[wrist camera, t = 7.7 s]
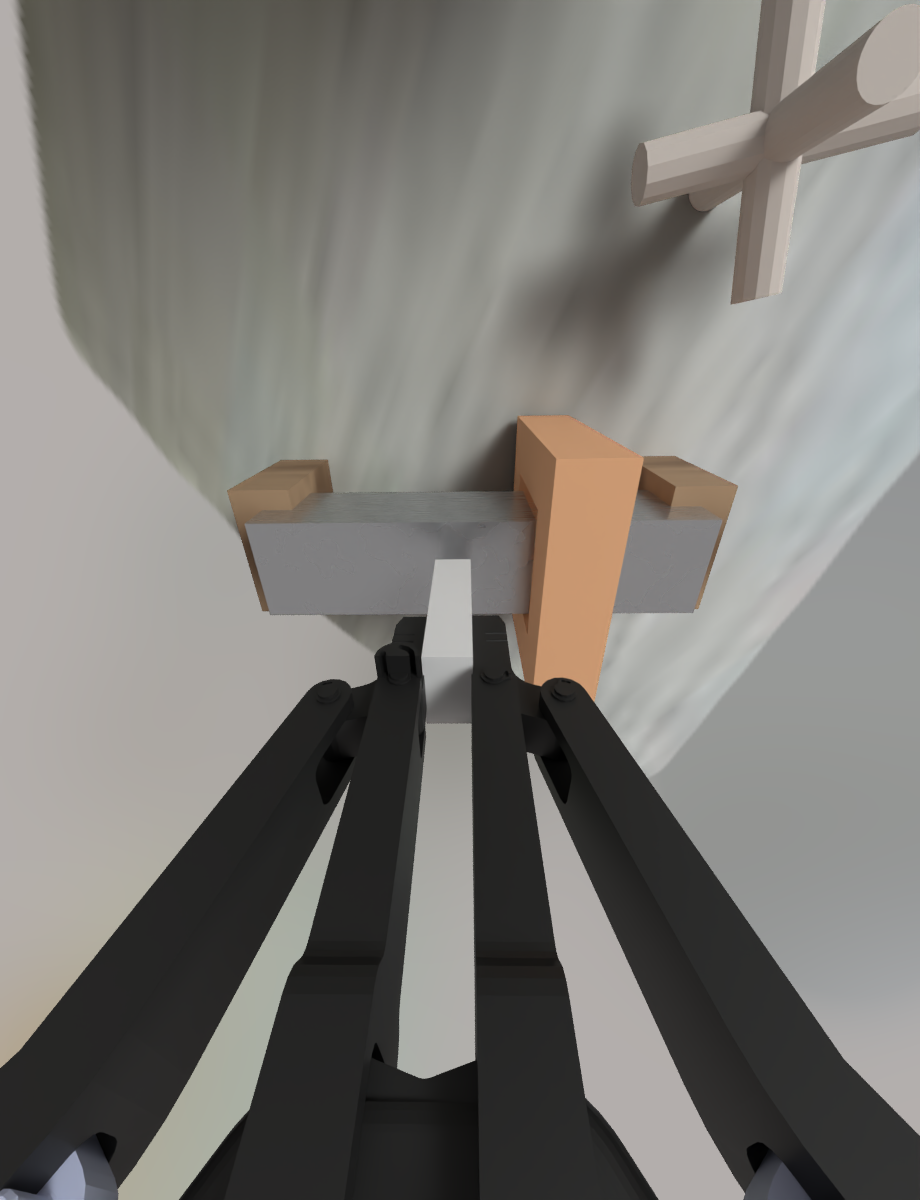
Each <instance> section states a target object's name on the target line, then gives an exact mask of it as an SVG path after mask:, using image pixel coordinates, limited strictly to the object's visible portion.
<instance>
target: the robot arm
mask: <svg viewBox="0 0 920 1200" xmlns="http://www.w3.org/2000/svg"><path fill="white" fill-rule="evenodd" d="M374 657H375V663H376V670H377V676H378V678H377V680H375V681H374V682H372V683H370V684H367V685H364V686H360V687H356V688H351V687H350V686H349V684H348V683H346V682H345V681H342V680H335V679H330V680H327V681H322V682H320V683H318V684H316V685H314V686H313V687H312V688H311V689H310V690H308V692H307V693H306V694H305V695H304V697H303V698H302V699H301V700H300V702H299V703H298V704H297V705H296V707H295V708H294V709H293V710H292V712H291V713H290V714H289V715H288V717H287V718H286V719H285V720H284V722H283V723H282V724H281V725H280V727H279V728H278V729H277V730H276V731H275V733H274V734H273V735H272V736H271V738H270V739H269V740H268V742H267V743H266V744H265V745H264V746H263V748H262V749H261V750H260V751H259V753H258V754H257V755H256V757H255V758H254V759H253V760H252V761H251V763H250V764H249V765H248V766H247V768H246V769H245V770H244V771H243V773H242V774H241V775H240V776H239V778H238V779H237V780H236V781H235V783H234V784H233V785H232V786H231V788H230V789H229V790H228V791H227V793H226V794H225V795H224V796H223V798H222V799H221V800H220V801H219V803H218V804H217V805H216V807H215V808H214V809H213V810H212V811H211V813H210V814H209V815H208V817H207V818H206V819H205V820H204V821H203V823H202V824H201V825H200V826H199V828H198V829H197V830H196V831H195V833H194V834H193V835H192V837H191V838H190V839H189V840H188V841H187V843H186V844H185V845H184V846H183V848H182V849H181V850H180V851H179V853H178V854H177V855H176V856H175V858H174V859H173V860H172V861H171V862H170V864H169V865H168V866H167V867H166V869H165V870H164V871H163V872H162V874H161V875H160V876H159V878H158V879H157V880H156V881H155V883H154V884H153V885H152V886H151V888H150V889H149V890H148V891H147V892H146V894H145V895H144V896H143V898H142V899H141V900H140V901H139V903H138V904H137V905H136V906H135V908H134V909H133V910H132V911H131V912H130V914H129V915H128V916H127V917H126V919H125V920H124V921H123V922H122V924H121V925H120V926H119V927H118V929H117V930H116V931H115V932H114V934H113V935H112V936H111V937H110V939H109V940H108V941H107V942H106V944H105V945H104V946H103V947H102V949H101V950H100V951H99V952H98V954H97V955H96V956H95V958H94V959H93V960H92V961H91V962H90V964H89V965H88V966H87V967H86V969H85V970H84V971H83V972H82V974H81V975H80V976H79V977H78V979H77V980H76V981H75V982H74V984H73V985H72V986H71V987H70V989H69V990H68V991H67V992H66V993H65V995H64V996H63V997H62V999H61V1000H60V1001H59V1002H58V1003H57V1005H56V1006H55V1007H54V1008H53V1010H52V1011H51V1012H50V1013H49V1015H48V1016H47V1017H46V1019H45V1020H44V1021H43V1022H42V1024H41V1025H40V1026H39V1027H38V1028H37V1030H36V1031H35V1032H34V1033H33V1035H32V1036H31V1037H30V1038H29V1040H28V1041H27V1042H26V1043H25V1045H24V1046H23V1047H22V1049H21V1050H20V1051H19V1052H18V1053H16V1054H15V1055H14V1056H13V1057H12V1058H11V1059H10V1060H9V1061H8V1062H7V1063H6V1064H5V1065H3V1066H2V1067H1V1068H0V1200H118V1190H117V1189H118V1188H119V1187H120V1185H121V1184H122V1183H123V1181H124V1180H125V1179H126V1177H127V1176H128V1175H129V1173H130V1172H131V1171H132V1169H133V1168H134V1167H135V1165H136V1164H137V1162H138V1160H139V1159H140V1158H141V1156H142V1154H143V1153H144V1152H145V1150H146V1149H147V1147H148V1145H149V1144H150V1142H151V1141H152V1139H153V1138H154V1136H155V1135H156V1133H157V1132H158V1131H159V1129H160V1127H161V1126H162V1124H163V1123H164V1121H165V1120H166V1118H167V1116H168V1115H169V1113H170V1111H171V1109H172V1108H173V1106H174V1104H175V1103H176V1101H177V1099H178V1097H179V1096H180V1094H181V1092H182V1091H183V1089H184V1087H185V1085H186V1084H187V1082H188V1080H189V1079H190V1077H191V1075H192V1073H193V1071H194V1069H195V1067H196V1065H197V1063H198V1062H199V1060H200V1058H201V1056H202V1054H203V1052H204V1051H205V1049H206V1047H207V1045H208V1043H209V1041H210V1039H211V1038H212V1036H213V1034H214V1032H215V1030H216V1028H217V1027H218V1025H219V1023H220V1021H221V1019H222V1017H223V1015H224V1013H225V1012H226V1010H227V1008H228V1006H229V1004H230V1002H231V1001H232V999H233V997H234V995H235V993H236V991H237V989H238V988H239V986H240V984H241V982H242V980H243V978H244V976H245V975H246V973H247V971H248V969H249V967H250V965H251V963H252V962H253V960H254V958H255V956H256V954H257V952H258V951H259V949H260V947H261V945H262V943H263V941H264V939H265V938H266V936H267V934H268V932H269V930H270V928H271V926H272V925H273V922H274V921H275V919H276V917H277V915H278V913H279V911H280V909H281V908H282V906H283V904H284V902H285V900H286V898H287V897H288V895H289V893H290V891H291V889H292V887H293V886H294V884H295V882H296V880H297V878H298V876H299V874H300V873H301V871H302V869H303V867H304V865H305V863H306V861H307V859H308V857H309V856H310V854H311V852H312V850H313V848H314V847H315V845H316V843H317V841H318V839H319V837H320V835H321V834H322V832H323V830H324V828H325V826H326V824H327V822H328V821H329V819H330V817H331V815H332V813H333V811H334V809H335V807H336V806H337V804H338V802H339V800H340V798H341V796H342V795H343V793H344V791H345V789H346V787H347V785H348V783H349V782H350V784H349V788H348V792H347V796H346V800H345V803H344V807H343V811H342V815H341V818H340V822H339V826H338V830H337V834H336V837H335V841H334V845H333V849H332V853H331V856H330V860H329V864H328V868H327V871H326V875H325V879H324V883H323V887H322V891H321V895H320V898H319V902H318V906H317V909H316V913H315V917H314V921H313V925H312V929H311V933H310V936H309V940H308V943H307V946H306V949H305V952H304V954H303V956H302V957H301V958H300V959H299V960H298V961H297V962H296V963H295V964H294V966H293V968H292V970H291V972H290V974H289V976H288V978H287V981H286V985H285V987H284V990H283V993H282V996H281V1000H280V1003H279V1007H278V1011H277V1014H276V1018H275V1021H274V1025H273V1028H272V1032H271V1035H270V1039H269V1042H268V1046H267V1050H266V1054H265V1057H264V1060H263V1064H262V1067H261V1071H260V1074H259V1078H258V1082H257V1085H256V1089H255V1092H254V1096H253V1099H252V1103H251V1106H250V1110H249V1111H248V1112H247V1113H246V1114H245V1115H244V1116H243V1118H242V1119H241V1120H240V1121H239V1122H238V1123H237V1124H236V1125H235V1126H234V1128H233V1129H232V1130H231V1131H230V1133H229V1134H228V1135H227V1137H226V1138H225V1139H224V1141H223V1142H222V1143H221V1145H220V1146H219V1147H218V1149H217V1150H216V1151H215V1153H214V1154H213V1155H212V1156H211V1158H210V1159H209V1161H208V1162H207V1163H206V1164H205V1166H204V1167H203V1168H202V1170H201V1171H200V1172H199V1174H198V1175H197V1177H196V1178H195V1179H194V1181H193V1182H192V1183H191V1184H190V1186H189V1187H188V1189H187V1190H186V1191H185V1192H184V1194H183V1195H182V1196H181V1198H180V1199H179V1200H658V1198H657V1197H656V1195H655V1193H654V1192H653V1190H652V1189H651V1187H650V1186H649V1184H648V1182H647V1181H646V1179H645V1178H644V1176H643V1175H642V1173H641V1172H640V1170H639V1169H638V1167H637V1165H636V1164H635V1162H634V1161H633V1159H632V1157H631V1156H630V1154H629V1153H628V1151H627V1150H626V1148H625V1146H624V1145H623V1143H622V1142H621V1140H620V1139H619V1138H618V1136H617V1135H616V1133H615V1131H614V1130H613V1129H612V1128H611V1126H610V1125H609V1124H608V1123H607V1121H606V1120H605V1119H604V1118H603V1116H602V1115H601V1114H600V1113H599V1111H598V1110H597V1109H596V1108H595V1107H593V1105H592V1104H591V1103H590V1102H589V1101H588V1100H587V1099H586V1098H585V1094H584V1088H583V1081H582V1075H581V1069H580V1062H579V1056H578V1050H577V1044H576V1037H575V1031H574V1024H573V1018H572V1012H571V1005H570V999H569V993H568V988H567V982H566V978H565V974H564V970H563V967H562V965H561V963H560V961H559V959H558V956H557V952H556V948H555V941H554V934H553V927H552V921H551V914H550V907H549V900H548V894H547V887H546V880H545V873H544V867H543V860H542V853H541V846H540V840H539V834H538V826H537V820H536V813H535V806H534V799H533V792H532V786H531V779H530V772H529V766H528V759H527V752H529V753H533V754H534V756H535V759H536V761H537V764H538V766H539V768H540V771H541V773H542V775H543V777H544V779H545V781H546V784H547V786H548V788H549V790H550V792H551V794H552V797H553V799H554V801H555V803H556V806H557V807H558V810H559V812H560V814H561V816H562V819H563V821H564V823H565V825H566V827H567V830H568V832H569V834H570V836H571V838H572V840H573V842H574V845H575V847H576V849H577V851H578V854H579V856H580V858H581V860H582V862H583V865H584V867H585V869H586V871H587V873H588V875H589V877H590V880H591V882H592V884H593V886H594V888H595V891H596V893H597V895H598V897H599V899H600V902H601V904H602V906H603V908H604V910H605V912H606V915H607V917H608V919H609V921H610V924H611V925H612V928H613V930H614V932H615V934H616V937H617V939H618V941H619V943H620V945H621V947H622V949H623V952H624V954H625V956H626V958H627V960H628V963H629V965H630V967H631V969H632V972H633V974H634V976H635V978H636V980H637V983H638V984H639V987H640V989H641V991H642V993H643V996H644V998H645V1000H646V1002H647V1004H648V1006H649V1009H650V1011H651V1013H652V1015H653V1018H654V1019H655V1022H656V1024H657V1026H658V1028H659V1031H660V1033H661V1035H662V1037H663V1039H664V1041H665V1044H666V1046H667V1048H668V1050H669V1052H670V1055H671V1057H672V1059H673V1061H674V1063H675V1065H676V1067H677V1069H678V1072H679V1074H680V1076H681V1079H682V1081H683V1083H684V1085H685V1087H686V1089H687V1091H688V1093H689V1095H690V1097H691V1099H692V1101H693V1103H694V1105H695V1107H696V1109H697V1111H698V1113H699V1115H700V1117H701V1119H702V1121H703V1123H704V1125H705V1127H706V1129H707V1131H708V1132H709V1134H710V1136H711V1138H712V1139H713V1141H714V1143H715V1145H716V1146H717V1148H718V1150H719V1151H720V1153H721V1155H722V1157H723V1158H724V1160H725V1162H726V1164H727V1165H728V1167H729V1169H730V1170H731V1172H732V1174H733V1176H734V1177H735V1179H736V1180H737V1181H738V1183H739V1184H740V1186H741V1187H742V1189H743V1191H744V1192H745V1196H744V1199H743V1200H920V1136H919V1135H918V1134H917V1133H916V1132H915V1131H914V1130H913V1129H912V1128H911V1127H910V1126H909V1125H908V1124H907V1123H906V1122H905V1121H904V1120H903V1119H902V1118H901V1117H900V1116H899V1115H898V1114H897V1113H896V1112H895V1111H894V1110H893V1108H891V1106H889V1104H887V1102H886V1101H885V1100H884V1099H883V1098H882V1097H881V1096H880V1095H879V1094H878V1093H876V1091H875V1090H874V1089H873V1088H872V1087H871V1086H870V1085H869V1084H868V1083H867V1082H866V1081H865V1080H864V1079H863V1078H862V1077H861V1076H860V1075H859V1074H858V1073H857V1072H856V1071H855V1070H854V1069H853V1068H852V1067H851V1066H850V1065H849V1064H848V1063H847V1062H846V1061H845V1060H844V1059H843V1057H842V1056H841V1054H840V1053H839V1052H838V1050H837V1049H836V1047H835V1046H834V1044H833V1043H832V1042H831V1040H830V1039H829V1037H828V1036H827V1035H826V1033H825V1032H824V1030H823V1029H822V1027H821V1026H820V1024H819V1023H818V1022H817V1020H816V1019H815V1017H814V1016H813V1014H812V1013H811V1012H810V1010H809V1009H808V1007H807V1006H806V1004H805V1003H804V1001H803V1000H802V999H801V997H800V996H799V994H798V993H797V991H796V990H795V989H794V987H793V986H792V984H791V983H790V981H789V980H788V979H787V977H786V976H785V974H784V973H783V971H782V970H781V969H780V967H779V966H778V964H777V963H776V961H775V960H774V959H773V957H772V956H771V954H770V953H769V952H768V950H767V949H766V947H765V946H764V944H763V943H762V942H761V940H760V939H759V937H758V936H757V935H756V933H755V932H754V930H753V929H752V927H751V926H750V924H749V923H748V921H747V920H746V919H745V917H744V916H743V914H742V913H741V911H740V910H739V909H738V907H737V906H736V904H735V903H734V901H733V900H732V899H731V897H730V896H729V894H728V893H727V891H726V890H725V889H724V887H723V886H722V884H721V883H720V881H719V880H718V879H717V877H716V876H715V875H714V873H713V871H712V870H711V869H710V867H709V866H708V864H707V863H706V861H705V860H704V859H703V857H702V856H701V854H700V853H699V851H698V850H697V849H696V847H695V846H694V844H693V843H692V841H691V840H690V839H689V837H688V836H687V835H686V833H685V831H684V830H683V828H682V827H681V826H680V824H679V823H678V821H677V820H676V818H675V817H674V816H673V814H672V813H671V811H670V810H669V809H668V807H667V806H666V804H665V803H664V802H663V800H662V799H661V797H660V796H659V794H658V793H657V792H656V790H655V788H654V787H653V786H652V784H651V783H650V782H649V780H648V778H647V777H646V776H645V774H644V773H643V771H642V770H641V768H640V767H639V766H638V764H637V763H636V761H635V760H634V758H633V757H632V756H631V754H630V753H629V751H628V750H627V748H626V747H625V746H624V744H623V743H622V741H621V740H620V738H619V737H618V736H617V734H616V733H615V731H614V730H613V728H612V727H611V726H610V724H609V723H608V721H607V720H606V718H605V717H604V716H603V714H602V713H601V711H600V710H599V708H598V707H597V706H596V704H595V703H594V701H593V700H592V698H591V697H590V696H589V694H588V693H587V691H586V690H585V689H584V688H583V687H582V686H581V685H580V684H579V683H577V682H575V681H574V680H572V679H567V678H563V677H562V678H552V679H549V680H547V681H546V682H545V683H543V684H542V686H538V685H534V684H530V683H527V682H525V681H523V680H521V679H519V678H518V677H517V676H516V675H515V674H514V672H513V671H512V668H511V662H510V655H509V648H508V641H507V634H506V627H505V623H504V622H503V621H502V619H501V618H500V617H499V616H472V600H471V559H440V560H435V565H434V572H433V579H432V586H431V593H430V600H429V607H428V614H427V617H403V619H402V620H401V621H400V622H399V623H398V624H397V625H396V628H395V632H394V636H393V640H392V643H391V644H388V645H386V646H383V647H382V648H381V649H379V650H378V651H377V653H376V654H375V656H374ZM426 721H427V723H472V798H473V799H472V803H473V877H474V878H473V881H474V884H473V885H474V955H475V956H474V958H475V959H474V962H475V965H474V966H475V1058H476V1059H475V1061H473V1062H470V1063H468V1064H465V1065H463V1066H460V1067H457V1068H455V1069H452V1070H449V1071H447V1072H444V1073H441V1074H439V1075H436V1076H434V1077H431V1078H428V1079H421V1078H418V1077H415V1076H413V1075H410V1074H408V1073H406V1072H403V1071H401V1070H399V1069H397V1060H398V1047H399V1046H398V1045H399V1007H400V995H401V985H402V975H403V965H404V955H405V944H406V935H407V924H408V913H409V904H410V894H411V884H412V873H413V863H414V853H415V843H416V833H417V823H418V812H419V802H420V792H421V782H422V772H423V762H424V752H425V741H426V731H425V722H426Z"/></svg>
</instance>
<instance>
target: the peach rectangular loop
mask: <svg viewBox="0 0 920 1200" xmlns="http://www.w3.org/2000/svg"><path fill="white" fill-rule="evenodd" d="M643 461H644V458H643V457H642V456H640V455H638V454H636V453H634V452H633V451H631V450H629V449H627V448H626V447H624V446H622V445H620V444H618V443H617V442H615V441H613V440H611V439H610V438H608V437H606V436H604V435H602V434H601V433H599V432H597V431H595V430H594V429H592V428H590V427H588V426H586V425H585V424H583V423H581V422H579V421H578V420H576V419H574V418H572V417H570V416H569V415H559V416H518V420H517V438H516V457H515V476H514V491H523V492H524V495H525V497H526V499H527V501H528V502H534V503H535V505H536V507H537V509H538V516H537V527H536V539H535V551H534V563H533V574H532V586H531V598H530V602H529V614H512V615H513V621H514V626H515V631H516V637H517V642H518V647H519V653H520V658H521V663H522V669H523V674H524V679H525V682H527V683H530V684H534V685H538V686H542V684H543V683H545V682H546V681H547V680H549V679H552V678H562V677H563V678H567V679H572V680H574V681H575V682H577V683H579V684H580V685H581V686H582V687H583V688H584V689H585V690H586V691H587V693H588V694H589V696H590V697H591V698H592V700H593V701H595V696H596V691H597V686H598V681H599V676H600V671H601V666H602V662H603V657H604V652H605V647H606V642H607V637H608V632H609V627H610V622H611V617H612V613H613V608H614V603H615V598H616V593H617V588H618V583H619V578H620V573H621V568H622V564H623V559H624V554H625V549H626V544H627V539H628V534H629V529H630V524H631V519H632V515H633V510H634V505H635V500H636V495H637V490H638V485H639V480H640V475H641V470H642V466H643Z"/></svg>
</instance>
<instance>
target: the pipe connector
mask: <svg viewBox="0 0 920 1200" xmlns="http://www.w3.org/2000/svg"><path fill="white" fill-rule="evenodd" d="M825 3H826V0H762V3H761V13H760V23H759V32H758V42H757V52H756V61H755V71H754V81H753V91H752V100H751V110H750V113H748V114H744V115H741V116H737V117H734V118H730V119H726V120H723V121H719V122H715V123H712V124H708V125H705V126H701V127H697V128H694V129H690V130H686V131H683V132H679V133H676V134H672V135H668V136H665V137H661V138H657V139H654V140H650V141H646V142H643V143H639V145H638V148H637V150H636V152H635V156H634V161H633V166H632V177H631V191H632V199H633V202H634V205H635V206H642V205H646V204H650V203H654V202H658V201H662V200H666V199H669V198H673V197H677V196H681V195H685V194H689V199H690V203H691V204H692V206H693V207H694V208H695V209H696V210H698V211H708V210H710V209H712V208H714V207H716V206H717V205H719V204H721V203H722V202H724V201H726V200H727V199H729V198H731V197H732V196H734V195H736V194H737V193H739V192H741V191H742V198H741V208H740V217H739V227H738V237H737V247H736V256H735V266H734V276H733V286H732V295H731V304H736V303H741V302H745V301H750V300H754V299H759V298H763V297H768V296H772V295H776V294H780V293H782V287H783V281H784V274H785V267H786V261H787V254H788V248H789V241H790V234H791V228H792V221H793V215H794V208H795V201H796V195H797V188H798V182H799V175H800V168H801V164H804V163H808V162H812V161H816V160H820V159H823V158H827V157H831V156H835V155H839V154H843V153H847V152H850V151H854V150H858V149H862V148H866V147H870V146H873V145H877V144H881V143H885V142H889V141H893V140H897V139H900V138H904V137H908V136H912V135H914V134H915V133H916V132H917V131H919V130H920V6H919V5H916V4H908V5H903V6H901V7H899V8H897V9H894V10H893V11H892V12H891V13H889V14H888V15H887V16H886V17H884V18H883V19H882V20H881V21H879V22H878V23H877V24H876V25H874V26H873V27H872V28H871V29H869V30H868V31H867V32H866V33H864V34H863V35H862V36H861V37H860V38H858V39H857V40H856V41H855V42H853V43H852V44H851V45H850V46H848V47H847V48H846V49H845V50H843V51H842V52H841V53H840V54H839V55H837V56H836V57H835V58H834V59H832V60H831V61H830V62H829V63H827V64H826V65H825V66H824V67H822V68H821V69H820V70H819V71H817V72H816V73H815V69H816V63H817V56H818V49H819V43H820V36H821V29H822V23H823V16H824V10H825Z"/></svg>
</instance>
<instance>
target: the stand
mask: <svg viewBox="0 0 920 1200" xmlns="http://www.w3.org/2000/svg"><path fill="white" fill-rule="evenodd" d="M643 458H644V461H643V466H642V470H641V475H640V480H639V485H638V490H649V491H650V492H651V493H653V494H654V495H656V496H657V497H658V498H660V499H661V500H663V501H664V502H665V503H667V504H668V505H669V506H671V507H685V506H702V507H703V508H705V509H706V510H708V511H709V512H711V513H713V514H714V515H716V516H717V517H719V518H721V519H722V520H723V521H722V524H721V527H720V530H719V533H718V537H717V540H716V543H715V546H714V549H713V552H712V555H711V559H710V562H709V565H708V568H707V571H706V574H705V577H704V580H703V584H702V587H701V590H700V593H699V596H698V599H697V602H696V605H695V609H698V608H699V605H700V602H701V599H702V596H703V593H704V590H705V587H706V584H707V580H708V577H709V574H710V571H711V568H712V565H713V562H714V559H715V556H716V553H717V550H718V547H719V543H720V540H721V537H722V534H723V531H724V528H725V525H726V522H727V519H728V516H729V513H730V510H731V507H732V503H733V500H734V497H735V494H736V491H737V488H738V486H737V485H735V484H733V483H731V482H729V481H727V480H724V479H722V478H720V477H718V476H716V475H714V474H712V473H710V472H707V471H705V470H703V469H701V468H699V467H697V466H695V465H693V464H691V463H688V462H686V461H684V460H682V459H680V458H678V457H676V456H648V457H643ZM227 492H228V495H229V499H230V502H231V506H232V509H233V512H234V516H235V519H236V523H237V526H238V529H239V533H240V536H241V540H242V543H243V546H244V550H245V553H246V557H247V560H248V563H249V567H250V570H251V574H252V577H253V580H254V584H255V587H256V590H257V594H258V597H259V600H260V604H261V607H262V611H269V608H268V605H267V601H266V598H265V594H264V591H263V587H262V584H261V580H260V577H259V573H258V570H257V566H256V563H255V559H254V556H253V552H252V549H251V545H250V542H249V538H248V535H247V531H246V528H245V523H246V522H247V521H249V520H250V519H251V518H253V517H254V516H255V515H257V514H258V513H259V512H261V511H262V510H292V509H293V508H295V507H296V506H297V505H298V504H299V503H300V502H301V501H302V500H304V499H305V498H306V497H307V496H308V495H309V494H310V493H333V489H332V483H331V476H330V470H329V464H328V460H280V461H279V462H277V463H275V464H273V465H272V466H270V467H268V468H266V469H264V470H263V471H261V472H259V473H257V474H256V475H254V476H252V477H250V478H249V479H247V480H245V481H243V482H241V483H240V484H238V485H236V486H234V487H233V488H231V489H229V490H227Z"/></svg>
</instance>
